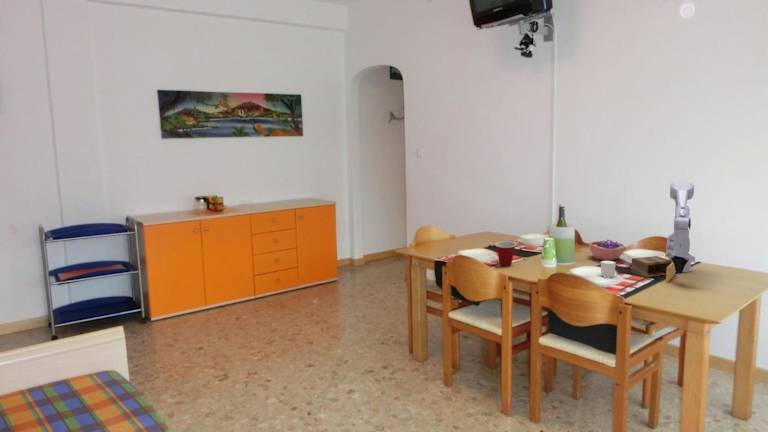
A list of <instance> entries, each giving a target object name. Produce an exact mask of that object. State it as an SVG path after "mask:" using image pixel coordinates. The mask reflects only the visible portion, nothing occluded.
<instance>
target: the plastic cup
mask: <svg viewBox="0 0 768 432" xmlns="http://www.w3.org/2000/svg"><path fill="white" fill-rule="evenodd" d="M516 246H517V243H516V242H513V241H508V240H507V241H506V240H505V241H498V242H496V243H495V247H496V250H497V257H498V261H499V262H498V263H499V265H500V267H503V268H505V267H507V268H508V267H511V266H512V264H513V258H514V252H515V250H516V249H515V248H516Z"/></svg>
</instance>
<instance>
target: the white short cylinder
mask: <svg viewBox="0 0 768 432" xmlns="http://www.w3.org/2000/svg"><path fill="white" fill-rule="evenodd" d="M616 266H617V261H614V260H611V261H605V260H602V261H600V272H601V273H600V274H601V275H602V276H605V277H613V278H615V273H616V272H615V271H616ZM602 276H601V277H602ZM605 277H604V278H605Z"/></svg>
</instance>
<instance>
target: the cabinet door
mask: <svg viewBox="0 0 768 432" xmlns="http://www.w3.org/2000/svg"><path fill="white" fill-rule="evenodd" d="M674 276H676V273H675V266H674V263H673V262H672V263H671V264H670V265H669V266H668V267H667V272H666V275H665V282H667V283H668V282H669V281H670V280H672V278H673V277H674Z"/></svg>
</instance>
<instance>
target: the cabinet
mask: <svg viewBox="0 0 768 432" xmlns="http://www.w3.org/2000/svg"><path fill="white" fill-rule="evenodd" d="M670 264H671V260H669V258H668V259H667V258H664V257H660V256H657V255H654V256H645V257H644V256H642V257H641V256H640V257H633V258H631V270H630V271H631V273H633V274H636V275H638V276H640V277H644V278H654V277H653V276H655V277H661V276H660V275H664V276H666V272H667V267H668V266H669V265H670Z"/></svg>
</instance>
